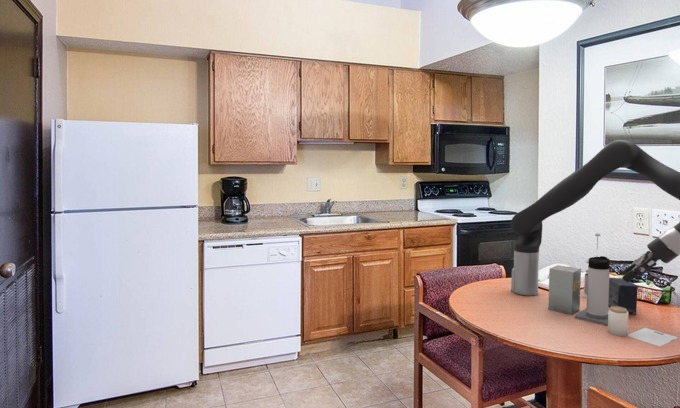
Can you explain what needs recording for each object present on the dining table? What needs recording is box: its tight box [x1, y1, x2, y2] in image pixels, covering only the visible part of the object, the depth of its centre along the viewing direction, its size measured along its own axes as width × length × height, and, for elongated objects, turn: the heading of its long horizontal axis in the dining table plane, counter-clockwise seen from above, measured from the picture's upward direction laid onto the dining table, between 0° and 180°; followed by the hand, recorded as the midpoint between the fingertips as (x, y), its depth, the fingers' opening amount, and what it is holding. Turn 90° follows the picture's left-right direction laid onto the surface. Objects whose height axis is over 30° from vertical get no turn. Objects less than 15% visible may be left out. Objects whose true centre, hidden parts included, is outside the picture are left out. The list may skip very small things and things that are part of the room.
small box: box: [608, 277, 639, 316], centre depth 158 cm, size 11×6×10 cm, turn 169°
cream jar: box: [607, 306, 629, 337], centre depth 137 cm, size 5×5×8 cm
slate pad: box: [574, 308, 608, 327], centre depth 150 cm, size 10×10×1 cm
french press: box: [580, 232, 601, 298], centre depth 174 cm, size 10×12×25 cm
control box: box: [547, 264, 582, 315], centre depth 159 cm, size 9×7×15 cm
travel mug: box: [586, 255, 611, 319], centre depth 150 cm, size 6×7×20 cm
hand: (624, 277), depth 145 cm, fingers open, 8 cm apart
